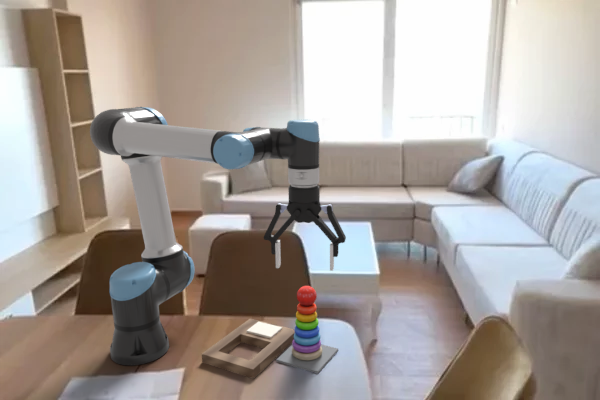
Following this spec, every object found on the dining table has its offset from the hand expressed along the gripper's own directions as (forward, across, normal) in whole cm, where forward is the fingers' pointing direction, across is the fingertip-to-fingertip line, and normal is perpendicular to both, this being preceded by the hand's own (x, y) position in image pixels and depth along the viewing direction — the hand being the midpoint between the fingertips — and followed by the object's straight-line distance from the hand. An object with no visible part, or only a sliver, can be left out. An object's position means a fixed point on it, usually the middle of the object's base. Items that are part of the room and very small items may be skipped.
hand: (304, 267), depth 124 cm
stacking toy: (+24, 0, 0) cm, 24 cm away
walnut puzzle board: (+25, -15, +1) cm, 29 cm away
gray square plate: (+25, 0, 0) cm, 25 cm away
